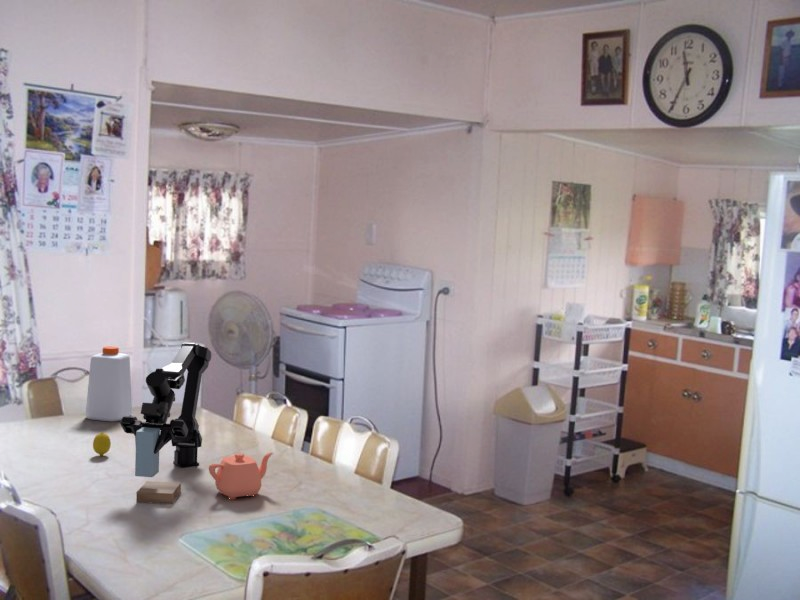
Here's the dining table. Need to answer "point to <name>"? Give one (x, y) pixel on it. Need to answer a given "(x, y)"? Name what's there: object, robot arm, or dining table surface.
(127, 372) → the plastic bottle
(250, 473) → the teapot
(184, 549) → the dining table surface
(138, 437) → the blue block
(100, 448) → the lemon
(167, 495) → the walnut base
